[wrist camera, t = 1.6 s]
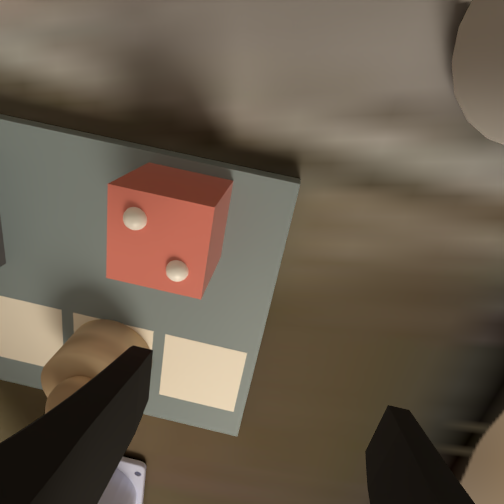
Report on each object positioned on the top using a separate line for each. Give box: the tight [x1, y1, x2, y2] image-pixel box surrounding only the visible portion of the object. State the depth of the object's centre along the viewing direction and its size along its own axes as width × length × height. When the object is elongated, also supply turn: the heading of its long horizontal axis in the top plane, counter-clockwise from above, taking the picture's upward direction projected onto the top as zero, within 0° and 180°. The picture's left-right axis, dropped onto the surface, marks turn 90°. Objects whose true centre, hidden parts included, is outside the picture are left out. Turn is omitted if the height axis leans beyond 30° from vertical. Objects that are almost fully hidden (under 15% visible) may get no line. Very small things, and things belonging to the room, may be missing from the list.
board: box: [0, 114, 300, 436], centre depth 19 cm, size 17×26×4 cm, turn 79°
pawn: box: [41, 319, 152, 414], centre depth 20 cm, size 5×5×5 cm
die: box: [106, 162, 233, 299], centre depth 16 cm, size 4×4×4 cm
